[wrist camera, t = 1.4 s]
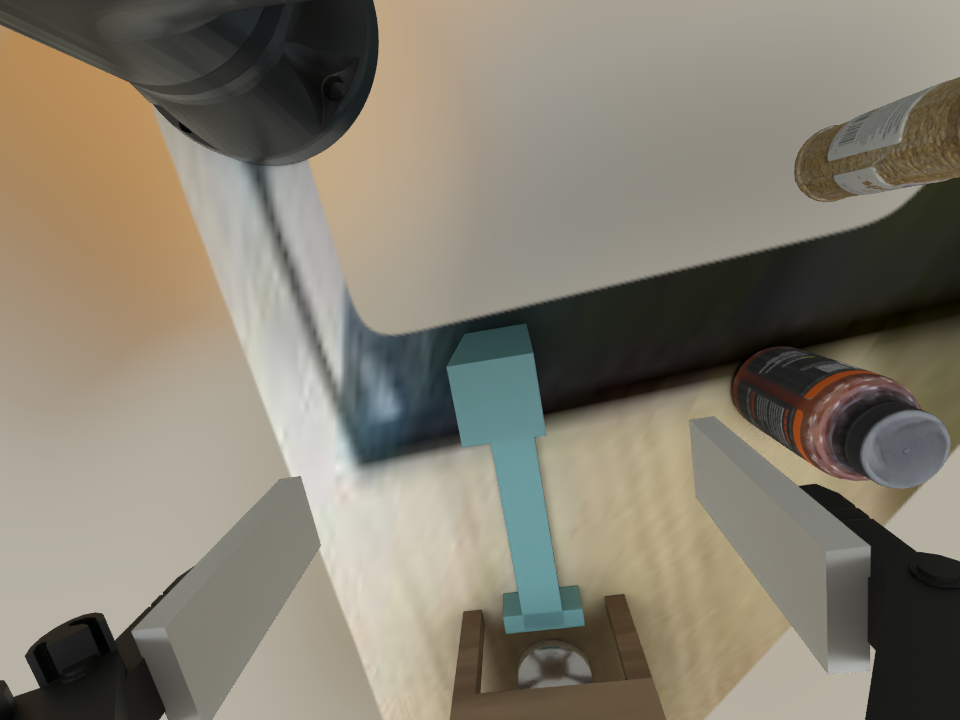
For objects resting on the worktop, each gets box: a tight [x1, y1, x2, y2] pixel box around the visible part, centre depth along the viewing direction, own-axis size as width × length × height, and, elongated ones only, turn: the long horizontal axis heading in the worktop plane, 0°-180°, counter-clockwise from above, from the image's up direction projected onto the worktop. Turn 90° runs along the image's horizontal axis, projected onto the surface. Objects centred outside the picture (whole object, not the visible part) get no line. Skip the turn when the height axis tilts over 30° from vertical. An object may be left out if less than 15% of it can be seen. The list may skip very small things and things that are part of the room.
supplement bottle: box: [733, 346, 951, 489], centre depth 27 cm, size 6×6×11 cm
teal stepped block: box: [447, 324, 585, 634], centre depth 31 cm, size 23×6×10 cm, turn 10°
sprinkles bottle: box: [795, 77, 960, 202], centre depth 23 cm, size 5×5×13 cm
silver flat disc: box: [518, 639, 593, 690], centre depth 39 cm, size 6×6×2 cm
